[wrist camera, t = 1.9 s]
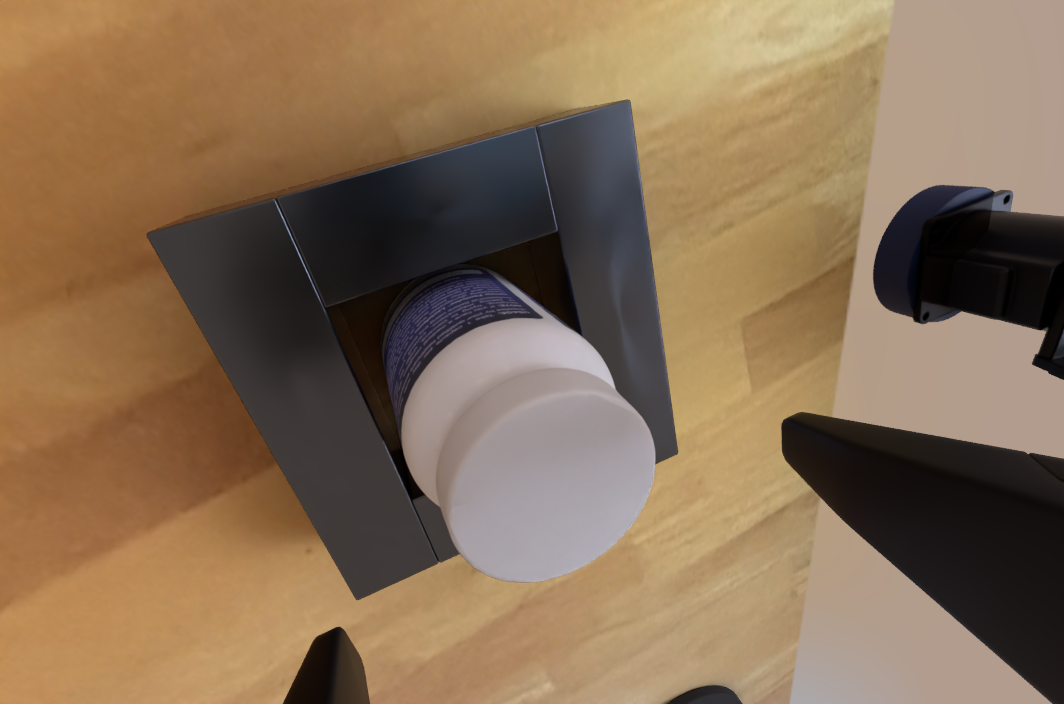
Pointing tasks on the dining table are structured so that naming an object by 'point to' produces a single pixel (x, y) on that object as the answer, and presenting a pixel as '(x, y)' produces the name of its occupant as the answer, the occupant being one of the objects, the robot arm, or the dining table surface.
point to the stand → (400, 255)
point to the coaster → (708, 696)
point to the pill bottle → (512, 426)
